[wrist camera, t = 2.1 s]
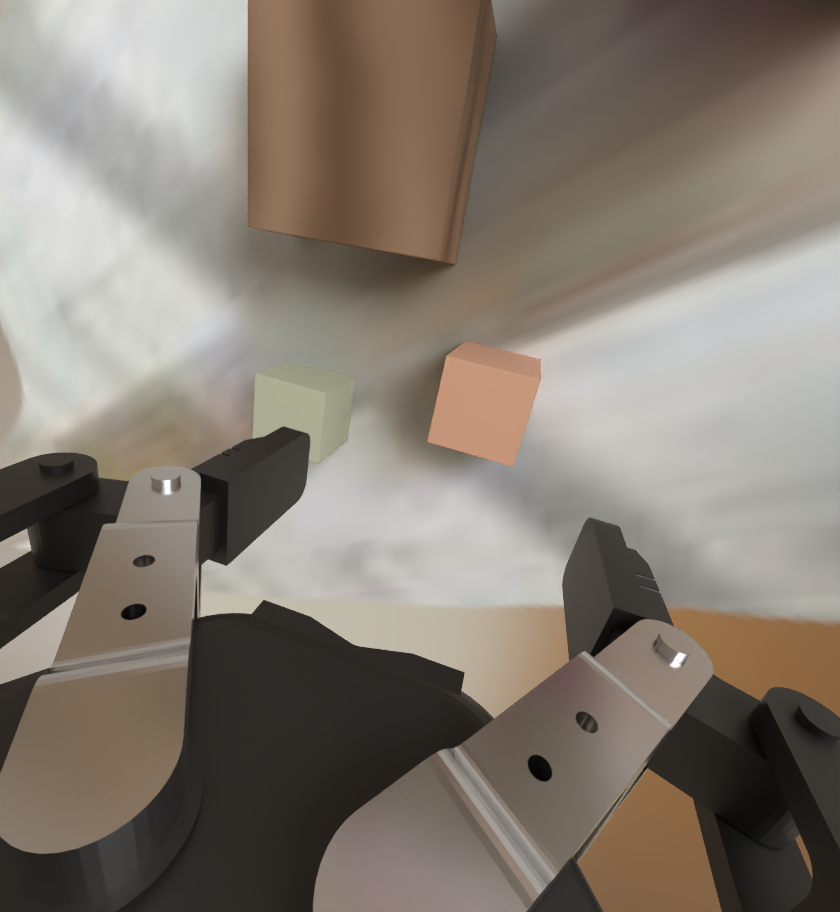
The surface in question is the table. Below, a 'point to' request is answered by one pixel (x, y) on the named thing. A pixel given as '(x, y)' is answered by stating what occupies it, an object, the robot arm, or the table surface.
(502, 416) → the terracotta block
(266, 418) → the sage green cube
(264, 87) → the walnut block
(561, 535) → the table surface
